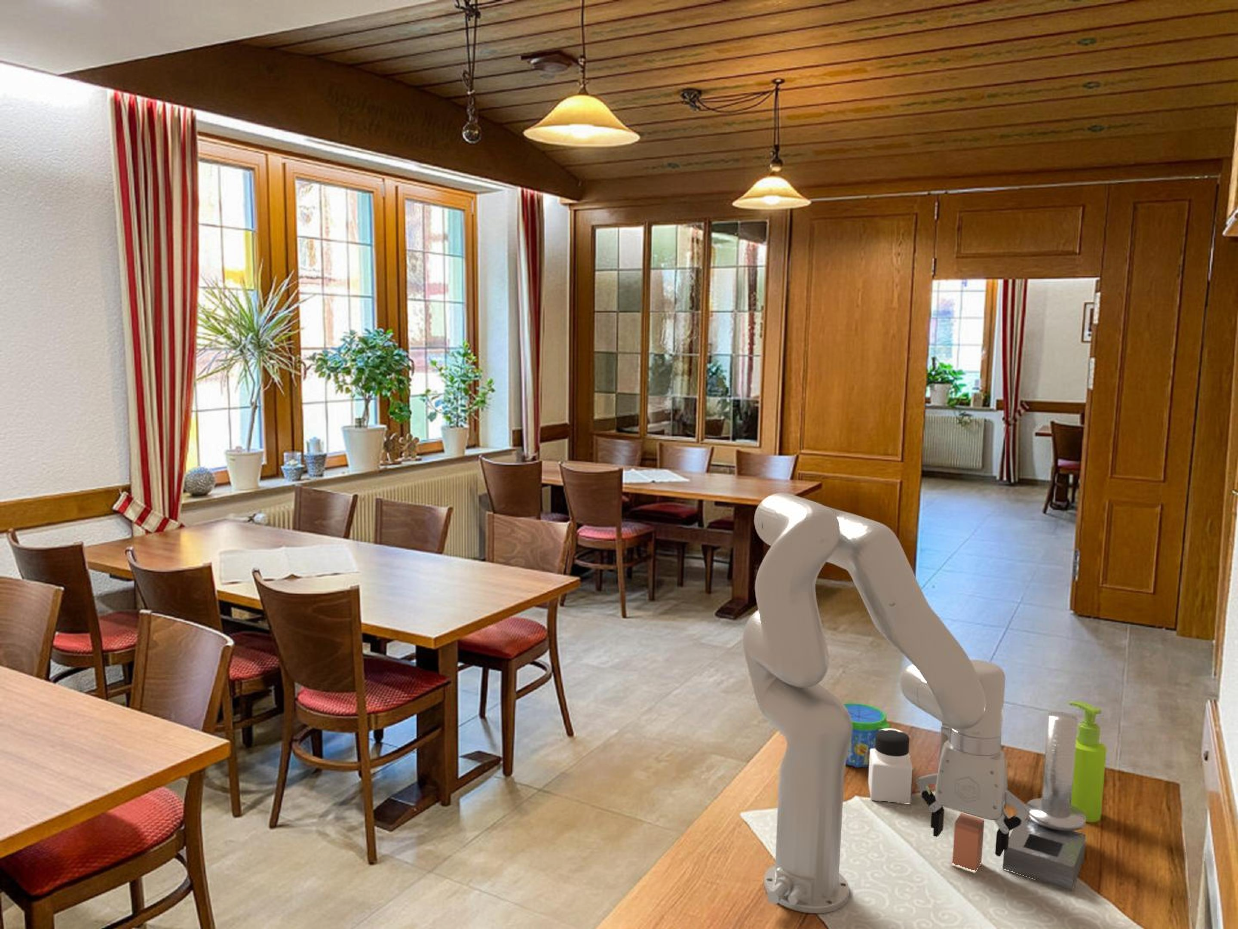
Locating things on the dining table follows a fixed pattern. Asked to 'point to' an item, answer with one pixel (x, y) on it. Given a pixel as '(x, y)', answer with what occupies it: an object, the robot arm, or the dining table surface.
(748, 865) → the dining table surface
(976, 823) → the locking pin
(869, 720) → the snack cup
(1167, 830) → the dining table surface
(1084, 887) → the dining table surface
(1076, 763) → the soap dispenser
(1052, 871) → the slotted block
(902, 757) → the medicine bottle
